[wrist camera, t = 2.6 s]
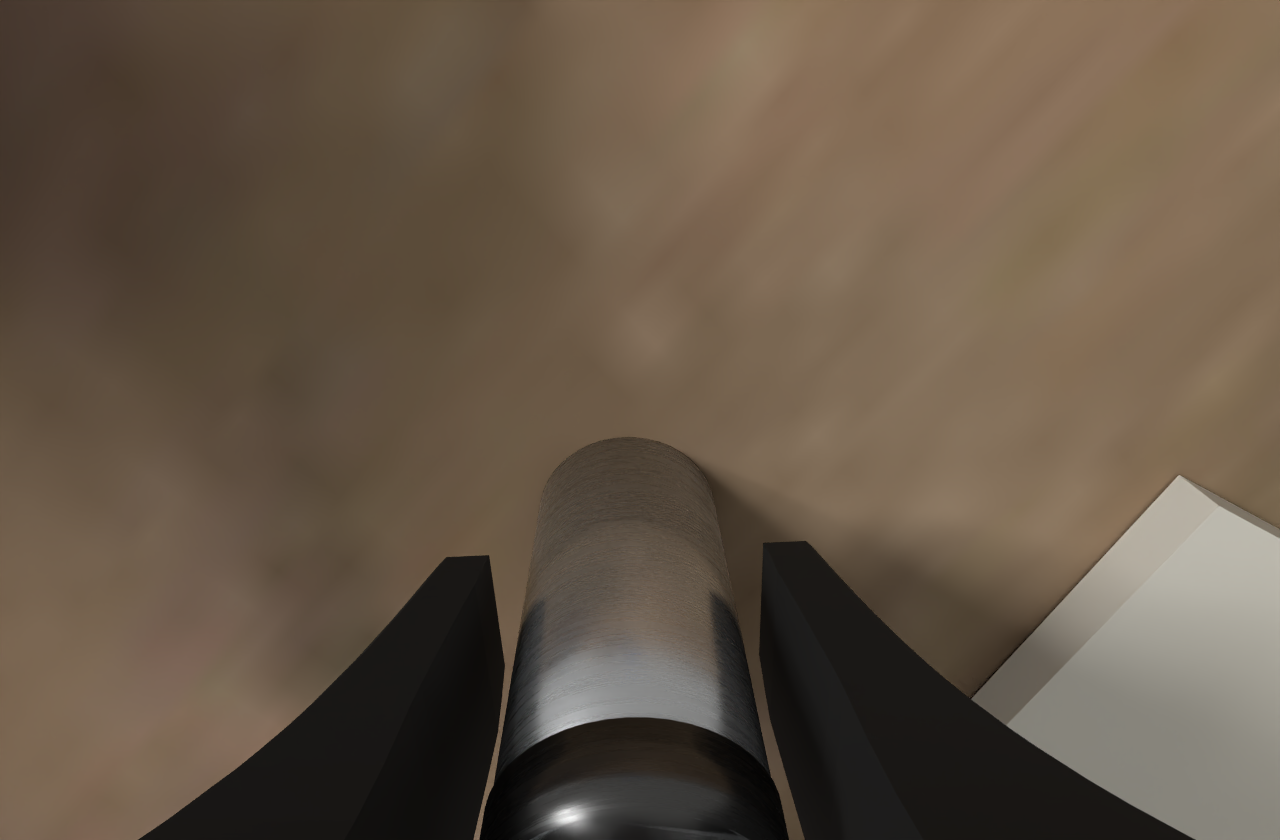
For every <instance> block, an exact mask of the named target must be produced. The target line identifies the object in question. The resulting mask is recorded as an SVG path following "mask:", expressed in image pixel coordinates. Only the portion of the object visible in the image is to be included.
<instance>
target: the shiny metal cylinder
mask: <svg viewBox="0 0 1280 840" xmlns="http://www.w3.org/2000/svg"><path fill="white" fill-rule="evenodd" d="M480 840H789V837H788V833H787V828H786V823H785V819H784V814H783V809H782V805H781V800H780V796H779V793H778V790H777V788H776V786H775V784H774V781H773V780H772V778H771V775H770V770H769V766H768V761H767V756H766V751H765V746H764V741H763V737H762V732H761V727H760V722H759V717H758V712H757V707H756V703H755V698H754V693H753V688H752V683H751V678H750V674H749V669H748V664H747V659H746V654H745V649H744V644H743V640H742V635H741V630H740V625H739V620H738V615H737V611H736V606H735V601H734V596H733V591H732V586H731V582H730V577H729V572H728V567H727V562H726V557H725V552H724V548H723V543H722V538H721V533H720V528H719V523H718V519H717V514H716V509H715V504H714V499H713V495H712V491H711V489H710V486H709V484H708V482H707V480H706V478H705V476H704V475H703V473H702V472H701V471H700V469H699V468H698V467H697V466H696V465H695V464H694V463H693V462H692V461H691V460H690V459H689V458H688V457H686V456H685V455H684V454H682V453H681V452H679V451H677V450H676V449H674V448H672V447H670V446H668V445H665V444H663V443H660V442H657V441H653V440H649V439H643V438H634V437H622V438H612V439H607V440H603V441H599V442H596V443H593V444H590V445H588V446H586V447H584V448H582V449H580V450H578V451H577V452H575V453H574V454H572V455H571V456H569V457H568V458H567V459H566V460H565V461H563V462H562V463H561V464H560V465H559V466H558V468H557V469H556V470H555V471H554V472H553V474H552V475H551V477H550V478H549V480H548V482H547V484H546V486H545V488H544V491H543V494H542V498H541V503H540V509H539V515H538V521H537V527H536V533H535V539H534V545H533V551H532V557H531V563H530V569H529V575H528V581H527V587H526V593H525V600H524V606H523V612H522V618H521V624H520V630H519V636H518V642H517V648H516V654H515V660H514V666H513V672H512V678H511V684H510V690H509V696H508V702H507V708H506V714H505V720H504V726H503V732H502V738H501V744H500V750H499V756H498V763H497V769H496V775H495V781H494V786H493V788H492V790H491V792H490V793H489V796H488V800H487V803H486V806H485V811H484V816H483V822H482V828H481V834H480Z"/></svg>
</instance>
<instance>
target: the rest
mask: <svg viewBox="0 0 1280 840" xmlns="http://www.w3.org/2000/svg"><path fill="white" fill-rule="evenodd" d="M971 700H973V701H974V702H975V703H977V704H978V705H979V706H981V707H982V708H983V709H985V710H986V711H987V712H989V713H990V714H991V715H993V716H994V717H995V718H997V719H998V720H999V721H1001V722H1002V723H1003V724H1005V725H1006V726H1008V727H1009V728H1010V729H1012V730H1013V731H1015V732H1016V733H1017V734H1019V735H1020V736H1022V737H1023V738H1025V739H1026V740H1028V741H1029V742H1031V743H1032V744H1034V745H1035V746H1037V747H1038V748H1040V749H1041V750H1043V751H1044V752H1046V753H1047V754H1049V755H1051V756H1052V757H1054V758H1055V759H1057V760H1058V761H1060V762H1062V763H1063V764H1065V765H1066V766H1068V767H1069V768H1071V769H1072V770H1074V771H1076V772H1077V773H1079V774H1080V775H1082V776H1083V777H1085V778H1087V779H1088V780H1090V781H1092V782H1093V783H1095V784H1097V785H1098V786H1100V787H1102V788H1103V789H1105V790H1107V791H1109V792H1110V793H1112V794H1114V795H1115V796H1117V797H1119V798H1120V799H1122V800H1124V801H1126V802H1127V803H1129V804H1131V805H1133V806H1134V807H1136V808H1138V809H1140V810H1142V811H1144V812H1145V813H1147V814H1149V815H1151V816H1153V817H1155V818H1156V819H1158V820H1160V821H1162V822H1164V823H1166V824H1167V825H1169V826H1171V827H1173V828H1175V829H1177V830H1178V831H1180V832H1182V833H1184V834H1186V835H1188V836H1190V837H1191V838H1193V839H1195V840H1280V529H1278V528H1276V527H1275V526H1273V525H1271V524H1269V523H1267V522H1265V521H1264V520H1262V519H1260V518H1258V517H1256V516H1254V515H1252V514H1251V513H1249V512H1247V511H1245V510H1243V509H1241V508H1240V507H1238V506H1236V505H1234V504H1232V503H1230V502H1228V501H1227V500H1225V499H1223V498H1221V497H1219V496H1217V495H1216V494H1214V493H1212V492H1210V491H1208V490H1206V489H1204V488H1203V487H1201V486H1199V485H1197V484H1195V483H1193V482H1192V481H1190V480H1188V479H1186V478H1184V477H1182V476H1180V475H1178V477H1177V478H1176V479H1175V480H1174V481H1173V482H1172V483H1171V484H1170V485H1169V486H1168V487H1167V488H1166V489H1165V491H1164V492H1163V493H1162V494H1161V495H1160V496H1159V497H1158V498H1157V499H1156V500H1155V501H1154V502H1153V503H1152V505H1151V506H1150V507H1149V508H1148V509H1147V510H1146V511H1145V512H1144V513H1143V514H1142V515H1141V516H1140V518H1139V519H1138V520H1137V521H1136V522H1135V523H1134V524H1133V525H1132V526H1131V527H1130V528H1129V529H1128V530H1127V532H1126V533H1125V534H1124V535H1123V536H1122V537H1121V538H1120V539H1119V540H1118V541H1117V542H1116V543H1115V544H1114V546H1113V547H1112V548H1111V549H1110V550H1109V551H1108V552H1107V553H1106V554H1105V555H1104V556H1103V557H1102V558H1101V560H1100V561H1099V562H1098V563H1097V564H1096V565H1095V566H1094V567H1093V568H1092V569H1091V570H1090V571H1089V572H1088V574H1087V575H1086V576H1085V577H1084V578H1083V579H1082V580H1081V581H1080V582H1079V583H1078V584H1077V585H1076V587H1075V588H1074V589H1073V590H1072V591H1071V592H1070V593H1069V594H1068V595H1067V596H1066V597H1065V598H1064V599H1063V601H1062V602H1061V603H1060V604H1059V605H1058V606H1057V607H1056V608H1055V609H1054V610H1053V611H1052V612H1051V613H1050V615H1049V616H1048V617H1047V618H1046V619H1045V620H1044V621H1043V622H1042V623H1041V624H1040V625H1039V626H1038V627H1037V629H1036V630H1035V631H1034V632H1033V633H1032V634H1031V635H1030V636H1029V637H1028V638H1027V639H1026V640H1025V641H1024V643H1023V644H1022V645H1021V646H1020V647H1019V648H1018V649H1017V650H1016V651H1015V652H1014V653H1013V654H1012V656H1011V657H1010V658H1009V659H1008V660H1007V661H1006V662H1005V663H1004V664H1003V665H1002V666H1001V667H1000V668H999V670H998V671H997V672H996V673H995V674H994V675H993V676H992V677H991V678H990V679H989V680H988V681H987V682H986V684H985V685H984V686H983V687H982V688H981V689H980V690H979V691H978V692H977V693H976V694H975V695H974V696H973V698H972V699H971Z"/></svg>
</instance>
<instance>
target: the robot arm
mask: <svg viewBox="0 0 1280 840" xmlns="http://www.w3.org/2000/svg"><path fill="white" fill-rule="evenodd" d="M759 656H760V662H761V668H762V674H763V680H764V687H765V693H766V698H767V704H768V710H769V715H770V720H771V724H772V728H773V731H774V735H775V738H776V742H777V745H778V749H779V752H780V756H781V759H782V763H783V766H784V769H785V773H786V776H787V780H788V783H789V787H790V790H791V793H792V797H793V800H794V804H795V807H796V810H797V814H798V817H799V821H800V824H801V827H802V831H803V834H804V838H805V840H1195V839H1193V838H1191V837H1190V836H1188V835H1186V834H1184V833H1182V832H1180V831H1178V830H1177V829H1175V828H1173V827H1171V826H1169V825H1167V824H1166V823H1164V822H1162V821H1160V820H1158V819H1156V818H1155V817H1153V816H1151V815H1149V814H1147V813H1145V812H1144V811H1142V810H1140V809H1138V808H1136V807H1134V806H1133V805H1131V804H1129V803H1127V802H1126V801H1124V800H1122V799H1120V798H1119V797H1117V796H1115V795H1114V794H1112V793H1110V792H1109V791H1107V790H1105V789H1103V788H1102V787H1100V786H1098V785H1097V784H1095V783H1093V782H1092V781H1090V780H1088V779H1087V778H1085V777H1083V776H1082V775H1080V774H1079V773H1077V772H1076V771H1074V770H1072V769H1071V768H1069V767H1068V766H1066V765H1065V764H1063V763H1062V762H1060V761H1058V760H1057V759H1055V758H1054V757H1052V756H1051V755H1049V754H1047V753H1046V752H1044V751H1043V750H1041V749H1040V748H1038V747H1037V746H1035V745H1034V744H1032V743H1031V742H1029V741H1028V740H1026V739H1025V738H1023V737H1022V736H1020V735H1019V734H1017V733H1016V732H1015V731H1013V730H1012V729H1010V728H1009V727H1008V726H1006V725H1005V724H1003V723H1002V722H1001V721H999V720H998V719H997V718H995V717H994V716H993V715H991V714H990V713H989V712H987V711H986V710H985V709H983V708H982V707H981V706H979V705H978V704H977V703H975V702H974V701H973V700H971V699H970V698H969V697H967V696H966V695H965V694H963V693H962V692H961V691H960V690H958V689H957V688H956V687H955V686H953V685H952V684H951V683H950V682H948V681H947V680H946V679H945V678H944V677H942V676H941V675H940V674H939V673H938V672H937V671H936V670H934V669H933V668H932V667H931V666H930V665H929V664H927V663H926V662H925V661H924V660H923V659H922V658H921V657H919V656H918V655H917V654H916V653H915V652H914V651H913V650H912V649H911V648H910V647H909V646H908V645H906V644H905V643H904V642H903V641H902V640H901V639H900V638H899V637H898V636H897V635H896V634H895V633H894V632H893V631H892V630H891V629H890V628H889V627H888V626H887V625H886V624H885V623H884V622H883V621H882V620H881V619H880V618H879V617H878V616H877V615H875V614H874V613H873V612H872V611H871V610H870V609H869V608H868V606H867V605H866V604H865V603H864V602H863V601H862V600H861V599H860V598H859V597H858V596H857V595H856V594H855V593H854V592H853V591H852V590H851V589H850V588H849V587H848V586H847V584H846V583H845V582H844V581H843V580H842V579H841V578H840V577H839V576H838V575H837V574H836V573H835V571H834V570H833V569H832V568H831V567H830V566H829V565H828V564H827V563H826V561H825V560H824V559H823V558H822V557H821V556H820V555H819V554H818V553H817V552H816V550H815V549H814V548H813V547H812V546H811V545H810V544H809V543H808V542H806V541H797V542H775V543H763V567H762V594H761V621H760V648H759ZM504 670H505V663H504V656H503V650H502V643H501V636H500V629H499V622H498V615H497V608H496V601H495V594H494V587H493V580H492V573H491V566H490V559H489V555H485V556H463V557H446V558H445V559H444V560H443V561H442V562H441V563H440V564H439V566H438V567H437V568H436V569H435V570H434V571H433V572H432V574H431V575H430V576H429V577H428V578H427V580H426V581H425V582H424V583H423V584H422V586H421V587H420V588H419V589H418V590H417V591H416V593H415V594H414V595H413V596H412V597H411V599H410V600H409V601H408V602H407V603H406V604H405V606H404V607H403V608H402V609H401V610H400V611H399V613H398V614H397V615H396V616H395V617H394V618H393V619H392V621H391V622H390V623H389V624H388V625H387V626H386V627H385V628H384V629H383V631H382V632H381V633H380V634H379V635H378V636H377V637H376V638H375V639H374V641H373V642H372V643H371V644H370V645H369V646H368V647H367V648H366V649H365V650H364V652H363V653H362V654H361V655H360V656H359V657H358V658H357V659H356V660H355V661H354V662H353V663H352V664H351V665H350V666H349V667H348V668H347V669H346V670H345V671H344V672H343V673H342V674H341V675H340V676H339V677H338V678H337V679H336V680H335V681H334V682H333V683H332V684H331V685H330V686H329V687H328V688H327V689H326V690H325V691H324V692H323V693H322V694H321V695H320V696H319V697H318V698H317V699H316V700H315V701H314V702H313V703H312V704H311V705H310V706H309V707H308V708H307V709H306V710H305V711H304V712H303V713H302V714H300V715H299V716H298V717H297V718H296V719H295V720H294V721H293V722H292V723H291V724H289V725H288V726H287V727H286V728H285V729H284V730H283V731H281V732H280V733H279V734H278V735H277V736H275V737H274V738H273V739H272V740H271V741H270V742H268V743H267V744H266V745H265V746H264V747H262V748H261V749H260V750H259V751H258V752H256V753H255V754H254V755H253V756H252V757H250V758H249V759H248V760H247V761H245V762H244V763H243V764H242V765H240V766H239V767H238V768H237V769H235V770H234V771H233V772H231V773H230V774H229V775H227V776H226V777H225V778H223V779H222V780H220V781H219V782H218V783H216V784H215V785H214V786H212V787H211V788H210V789H208V790H207V791H206V792H204V793H203V794H202V795H200V796H199V797H198V798H196V799H195V800H194V801H192V802H191V803H190V804H188V805H187V806H185V807H184V808H183V809H181V810H180V811H179V812H177V813H176V814H175V815H173V816H172V817H171V818H169V819H168V820H166V821H165V822H164V823H162V824H161V825H159V826H158V827H156V828H155V829H153V830H152V831H150V832H149V833H147V834H146V835H144V836H143V837H141V838H140V839H138V840H473V839H474V834H475V830H476V826H477V821H478V817H479V813H480V809H481V804H482V800H483V796H484V791H485V787H486V783H487V778H488V774H489V769H490V765H491V761H492V756H493V752H494V747H495V743H496V738H497V734H498V726H499V718H500V709H501V700H502V690H503V680H504Z"/></svg>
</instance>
